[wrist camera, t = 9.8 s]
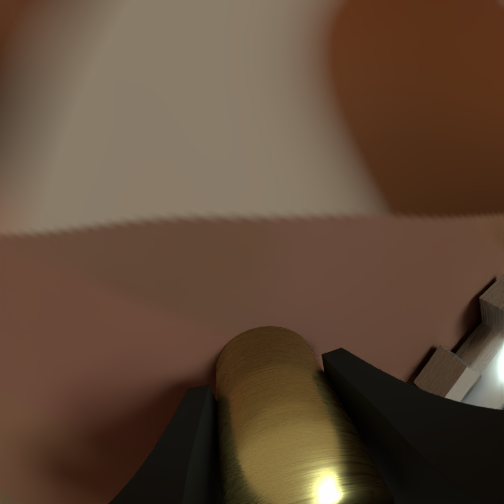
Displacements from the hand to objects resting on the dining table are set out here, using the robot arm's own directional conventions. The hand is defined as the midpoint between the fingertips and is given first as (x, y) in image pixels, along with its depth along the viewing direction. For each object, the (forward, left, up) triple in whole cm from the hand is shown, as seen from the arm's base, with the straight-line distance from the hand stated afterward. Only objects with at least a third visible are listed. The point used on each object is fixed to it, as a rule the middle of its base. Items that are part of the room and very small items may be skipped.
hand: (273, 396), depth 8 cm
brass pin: (0, 0, -1) cm, 1 cm away
